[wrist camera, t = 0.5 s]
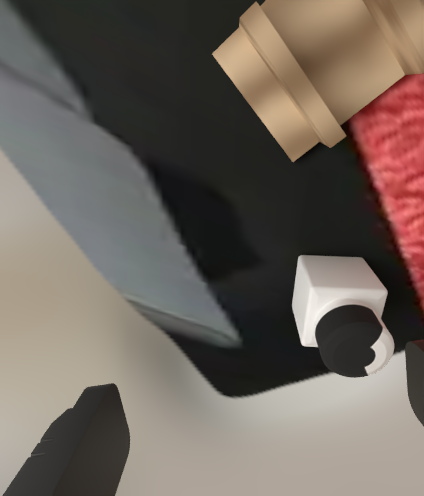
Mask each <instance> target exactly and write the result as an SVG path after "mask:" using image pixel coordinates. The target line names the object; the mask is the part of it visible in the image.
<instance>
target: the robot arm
mask: <svg viewBox="0 0 424 496" xmlns="http://www.w3.org/2000/svg"><path fill="white" fill-rule="evenodd" d="M405 354H406V370H407V387H408V396H409V401H410V404H411V407H412V409H413V411H414V413H415V415H416V416H417V418H418V419H419V421H420V422H421V423H422V424H423V426H424V340H417V341H410V342H408V343H407V344H406V347H405ZM129 448H130V433H129V428H128V424H127V421H126V417H125V413H124V410H123V405H122V402H121V398H120V394H119V391H118V388H117V386H116V385H115V384H106V385H98V386H91V387H87V388H86V389H85V390H84V391H83V393H82V394H81V396H80V398H79V399H78V401H77V402H76V404H75V405H74V407H73V408H70V409H67V410H66V411H65V412H64V413H63V414H62V415H61V416H60V417H58V418H57V419H56V420H55V421H54V422H53V423H52V424H51V425H50V427H49V428H48V430H47V431H46V432H45V434H44V436H43V437H42V439H41V442H40V443H38V444H37V446H36V447H35V449H34V450H33V452H32V453H31V457H29V458H28V459H27V460H26V462H25V464H24V465H23V466H22V468H21V469H20V471H19V472H18V474H17V475H16V477H15V478H14V480H13V481H12V482H11V484H10V485H9V487H8V488H7V490H6V491H5V493H4V494H3V496H115V494H116V491H117V487H118V484H119V482H120V479H121V475H122V472H123V469H124V466H125V463H126V460H127V457H128V454H129Z"/></svg>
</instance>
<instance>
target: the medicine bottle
mask: <svg viewBox="0 0 424 496" xmlns="http://www.w3.org/2000/svg"><path fill="white" fill-rule="evenodd" d="M387 294H388V292H387V290H386V288H385V287H384V286H383V284H382V283H381V282H380V280H379V279H378V278H377V276H376V275H375V274H374V272H373V271H372V270H371V268H370V267H369V266H368V264H367V263H366V262H365V260H364V259H363V258H361V257H339V256H312V255H300V256H299V257H298V264H297V272H296V279H295V287H294V295H293V302H292V309H293V312H294V316H295V320H296V324H297V328H298V332H299V336H300V340H301V344H302V345H303V346H310V347H318V348H319V351H320V354H321V357H322V360H323V362H324V364H325V365H326V366H327V367H328V368H329V369H330V370H331V371H333V372H335V373H337V374H339V375H342V376H346V377H364V376H368V375H370V374H373V373H376V372H377V371H379V370H380V369H382V368H383V367H384V366H385V365H386V364H387V363H388V362H389V360H390V358H391V357H392V354H393V352H394V341H393V338H392V336H391V334H390V333H389V331H388V330H387V328H386V327H385V325H384V323H383V322H382V320H381V316H382V312H383V308H384V305H385V301H386V297H387Z"/></svg>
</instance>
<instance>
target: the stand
mask: <svg viewBox="0 0 424 496" xmlns="http://www.w3.org/2000/svg"><path fill="white" fill-rule="evenodd" d="M212 55H213V56H214V57H215V59H216V60H217V61H218V63H219V64H220V65H221V67H222V68H223V69H224V71H225V72H226V73H227V75H228V76H229V77H230V79H231V80H232V81H233V83H234V84H235V85H236V87H237V88H238V90H239V91H240V92H241V94H242V95H243V96H244V98H245V99H246V100H247V102H248V103H249V104H250V106H251V107H252V108H253V110H254V111H255V112H256V114H257V115H258V116H259V118H260V119H261V120H262V122H263V123H264V124H265V126H266V127H267V128H268V130H269V131H270V132H271V134H272V135H273V136H274V138H275V139H276V140H277V142H278V143H279V144H280V146H281V147H282V148H283V150H284V151H285V152H286V154H287V155H288V156H289V158H290V159H291V160H292V162H294V161H295V160H296V159H298V158H299V157H300V156H302V155H303V154H304V153H305V152H307V151H308V150H309V149H311V148H312V147H313V146H314V145H316V144H317V143H318V142H321V143H323V144H325V145H326V146H328V147H329V148H331V147H333V146H334V145H335V144H336V143H338V142H339V141H340V140H342V139H343V138H344V137H346V134H345V133H344V131H343V130H342V128H341V127H340V125H341V124H343V123H344V122H345V121H347V120H348V119H349V118H350V117H352V116H353V115H354V114H356V113H357V112H358V111H359V110H361V109H362V108H363V107H365V106H366V105H367V104H368V103H370V102H371V101H372V100H374V99H375V98H376V97H377V96H379V95H380V94H381V93H383V92H384V91H385V90H386V89H388V88H389V87H390V86H392V85H393V84H394V83H395V82H397V81H398V80H399V79H401V78H402V77H403V76H404V75H410V74H421V73H424V0H266V1H265V2H264V3H263V4H262V5H261V6H259V4H258V3H257V1H256V2H255V3H254V4H253V5H252V6H251V7H250V8H249V9H248V10H247V11H246V12H245V13H244V14H243V15H242V16H241V17H240V24H239V28H238V29H237V30H236V31H235V32H234V33H233V34H232V35H231V36H230V37H229V38H228V39H227V40H226V41H225V42H224V43H223V44H222V45H221V46H220V47H219V48H218V49H217V50H216V51H215V52H214V53H213V54H212Z"/></svg>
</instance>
